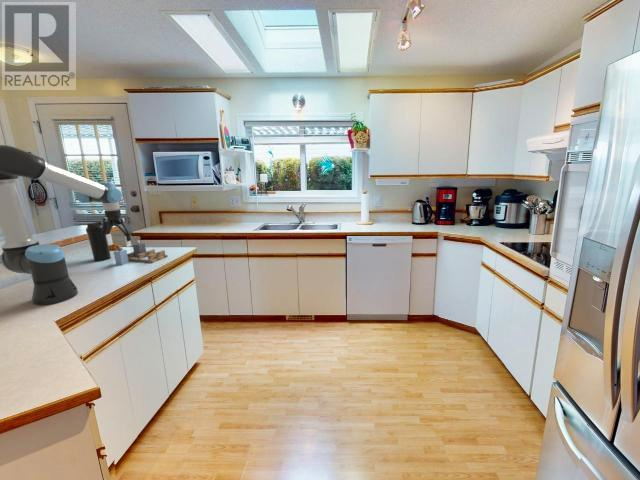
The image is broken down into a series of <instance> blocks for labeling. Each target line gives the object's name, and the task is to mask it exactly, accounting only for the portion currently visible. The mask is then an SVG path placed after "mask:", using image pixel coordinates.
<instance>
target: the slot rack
mask: <svg viewBox="0 0 640 480" xmlns="http://www.w3.org/2000/svg"><path fill="white" fill-rule="evenodd" d="M155 250H156V249H151V250H150V249H149V250H146V252H144V253H141V254H138V255H137V257H135V255H134V251H132V252H129V253H128V252H127V256H128V261H129V262H139V263H149V264H153V263H156V262H159V261H162V260H163V259H165V258H168V257H169V255H168V254H166V251H165V250H164V249H162V250H160V251H155Z"/></svg>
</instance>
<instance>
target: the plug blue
mask: <svg viewBox="0 0 640 480" xmlns="http://www.w3.org/2000/svg"><path fill="white" fill-rule="evenodd" d="M127 254H128V251H127V249H122V247H121V246H119V247H117V250H114V251H113V255H114V260H115V261H114V262H115V265H118V266H124V265H126V264H129V262H130V261H128V256H127Z"/></svg>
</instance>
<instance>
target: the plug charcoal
mask: <svg viewBox="0 0 640 480" xmlns="http://www.w3.org/2000/svg"><path fill="white" fill-rule="evenodd" d="M132 248H133V252H134V255H135V257H137V255H138V254H141V253H144V252H147V248H146V244H145V242H141V241H140V240H136V243H133V244H132Z"/></svg>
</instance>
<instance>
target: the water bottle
mask: <svg viewBox="0 0 640 480" xmlns="http://www.w3.org/2000/svg"><path fill="white" fill-rule="evenodd" d="M86 225H87V227H86V229H85V232H86V234H87V238H88V241H89V244H90V249H91V253H92V258H93V261H94V262H103V261H107V260H111V258H112V256H111V249H110V245H109V246H108V243H107V240H106V236H105V234H104V233H101V231H102V226H103V221H95V222H93V223H87V224H86ZM104 231H105V230H104Z"/></svg>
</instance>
